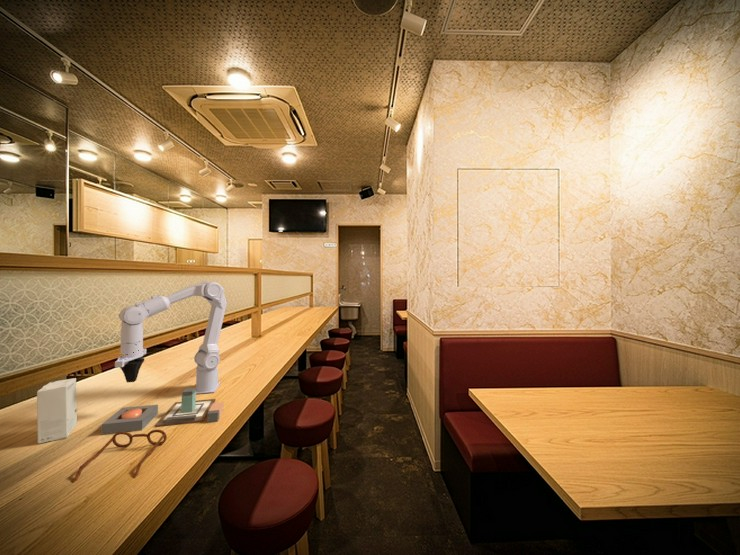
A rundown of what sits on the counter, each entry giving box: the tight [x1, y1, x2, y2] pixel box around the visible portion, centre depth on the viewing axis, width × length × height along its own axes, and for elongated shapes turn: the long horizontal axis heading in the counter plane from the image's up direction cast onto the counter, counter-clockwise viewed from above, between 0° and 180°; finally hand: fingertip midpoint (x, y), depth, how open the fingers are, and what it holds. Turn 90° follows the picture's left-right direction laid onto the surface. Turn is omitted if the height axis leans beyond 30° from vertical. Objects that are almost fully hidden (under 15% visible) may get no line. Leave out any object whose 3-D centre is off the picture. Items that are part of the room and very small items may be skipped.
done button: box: [122, 409, 142, 419], centre depth 86 cm, size 5×5×3 cm
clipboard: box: [155, 398, 216, 428], centre depth 93 cm, size 15×13×2 cm
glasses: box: [71, 429, 168, 484], centre depth 69 cm, size 13×13×5 cm
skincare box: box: [36, 377, 78, 445], centre depth 79 cm, size 8×6×15 cm
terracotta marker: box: [207, 401, 224, 424], centre depth 91 cm, size 7×3×3 cm, turn 16°
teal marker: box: [181, 387, 197, 413], centre depth 93 cm, size 3×3×7 cm
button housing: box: [101, 404, 159, 435], centre depth 86 cm, size 10×10×3 cm
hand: (131, 381), depth 92 cm, fingers closed
